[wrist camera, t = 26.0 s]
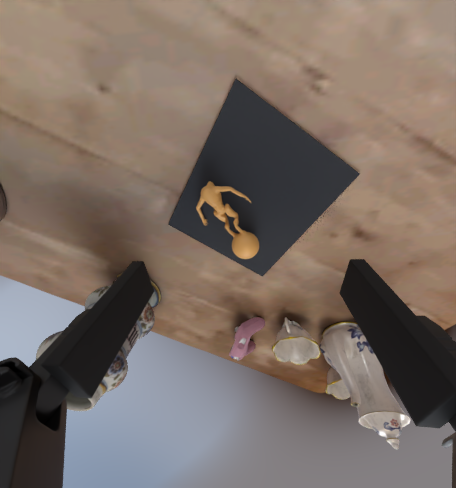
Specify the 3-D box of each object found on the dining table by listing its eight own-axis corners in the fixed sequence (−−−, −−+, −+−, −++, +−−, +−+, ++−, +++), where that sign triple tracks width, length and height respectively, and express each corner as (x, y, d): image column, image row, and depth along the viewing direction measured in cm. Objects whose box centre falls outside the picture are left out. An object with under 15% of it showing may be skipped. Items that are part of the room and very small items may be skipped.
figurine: (280, 245, 27) (246, 165, 25) (266, 261, 22) (223, 164, 21) (235, 259, 31) (204, 192, 30) (215, 275, 27) (178, 197, 25)
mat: (168, 223, 29) (168, 224, 29) (236, 79, 20) (235, 78, 20) (262, 275, 33) (262, 276, 32) (358, 173, 23) (360, 173, 23)
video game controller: (248, 307, 39) (230, 331, 34) (267, 319, 38) (252, 346, 32) (239, 334, 44) (222, 359, 39) (256, 346, 43) (241, 373, 37)
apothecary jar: (117, 256, 34) (6, 358, 19) (175, 287, 36) (120, 400, 21) (102, 294, 40) (8, 395, 24) (154, 318, 42) (98, 424, 27)
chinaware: (255, 320, 41) (250, 420, 28) (320, 284, 32) (359, 406, 19) (337, 371, 48) (365, 471, 34) (410, 353, 39) (486, 480, 25)
